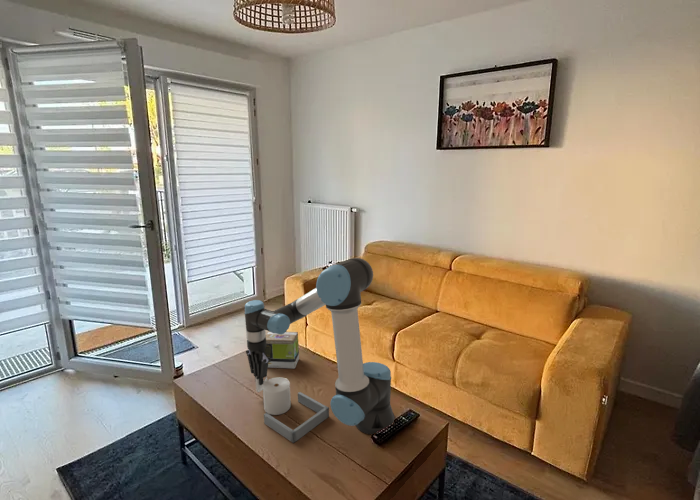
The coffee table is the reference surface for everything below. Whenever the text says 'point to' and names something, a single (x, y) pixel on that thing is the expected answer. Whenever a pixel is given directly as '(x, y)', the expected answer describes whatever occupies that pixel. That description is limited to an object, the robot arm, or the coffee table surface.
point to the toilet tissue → (276, 395)
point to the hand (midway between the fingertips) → (259, 390)
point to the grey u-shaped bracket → (304, 427)
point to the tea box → (282, 349)
